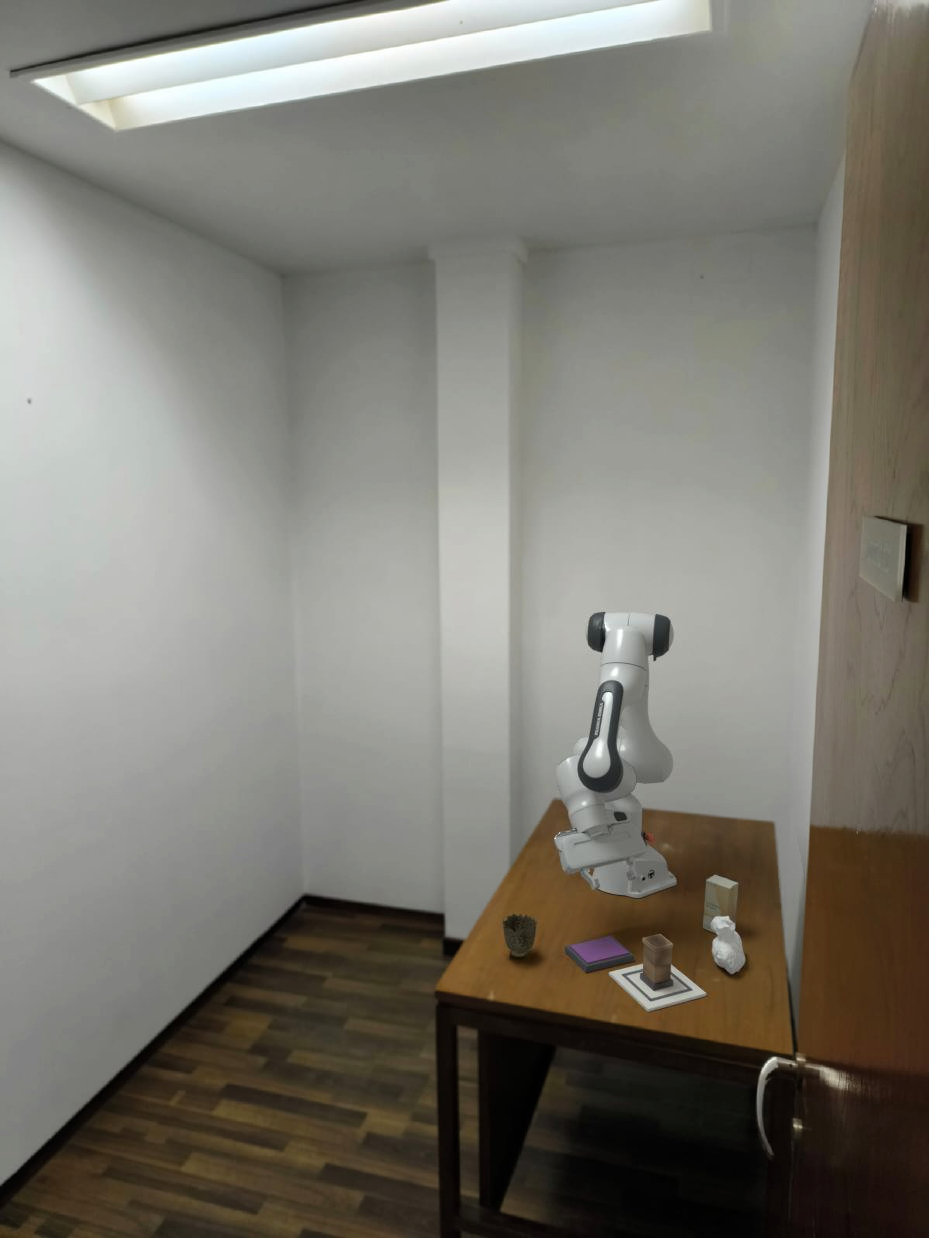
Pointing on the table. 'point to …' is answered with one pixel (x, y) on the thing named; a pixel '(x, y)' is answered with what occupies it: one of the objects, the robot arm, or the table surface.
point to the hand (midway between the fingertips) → (615, 883)
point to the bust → (727, 945)
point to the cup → (519, 934)
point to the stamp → (657, 962)
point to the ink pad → (599, 953)
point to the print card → (659, 998)
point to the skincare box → (719, 900)
